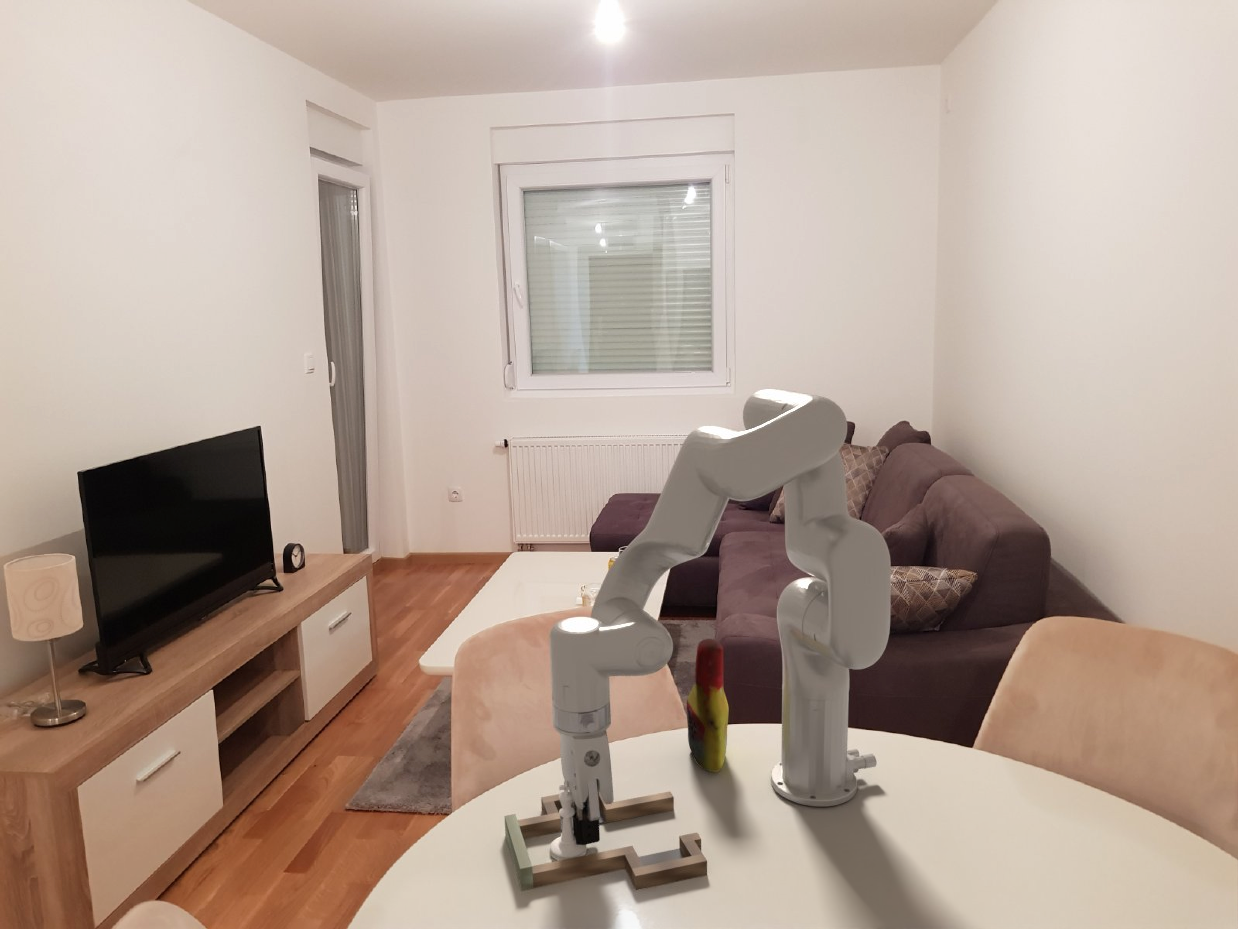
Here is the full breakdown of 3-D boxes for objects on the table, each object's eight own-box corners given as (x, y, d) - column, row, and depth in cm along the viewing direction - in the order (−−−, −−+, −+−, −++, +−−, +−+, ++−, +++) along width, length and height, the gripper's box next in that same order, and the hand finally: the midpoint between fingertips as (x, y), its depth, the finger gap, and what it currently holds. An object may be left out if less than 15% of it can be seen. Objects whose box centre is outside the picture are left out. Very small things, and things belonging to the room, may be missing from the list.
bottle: (733, 778, 134) (733, 654, 131) (691, 779, 134) (690, 655, 131) (723, 740, 146) (723, 625, 142) (684, 741, 146) (683, 626, 142)
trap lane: (660, 788, 132) (659, 769, 132) (714, 873, 112) (714, 852, 112) (500, 817, 126) (499, 798, 125) (528, 914, 106) (527, 891, 105)
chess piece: (584, 863, 115) (581, 793, 113) (546, 861, 116) (543, 791, 114) (589, 840, 120) (586, 772, 118) (553, 839, 120) (550, 771, 119)
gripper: (626, 734, 109) (630, 868, 112) (594, 685, 123) (598, 805, 126) (566, 745, 107) (572, 881, 110) (541, 693, 121) (547, 815, 124)
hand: (586, 840), depth 118 cm, fingers closed
